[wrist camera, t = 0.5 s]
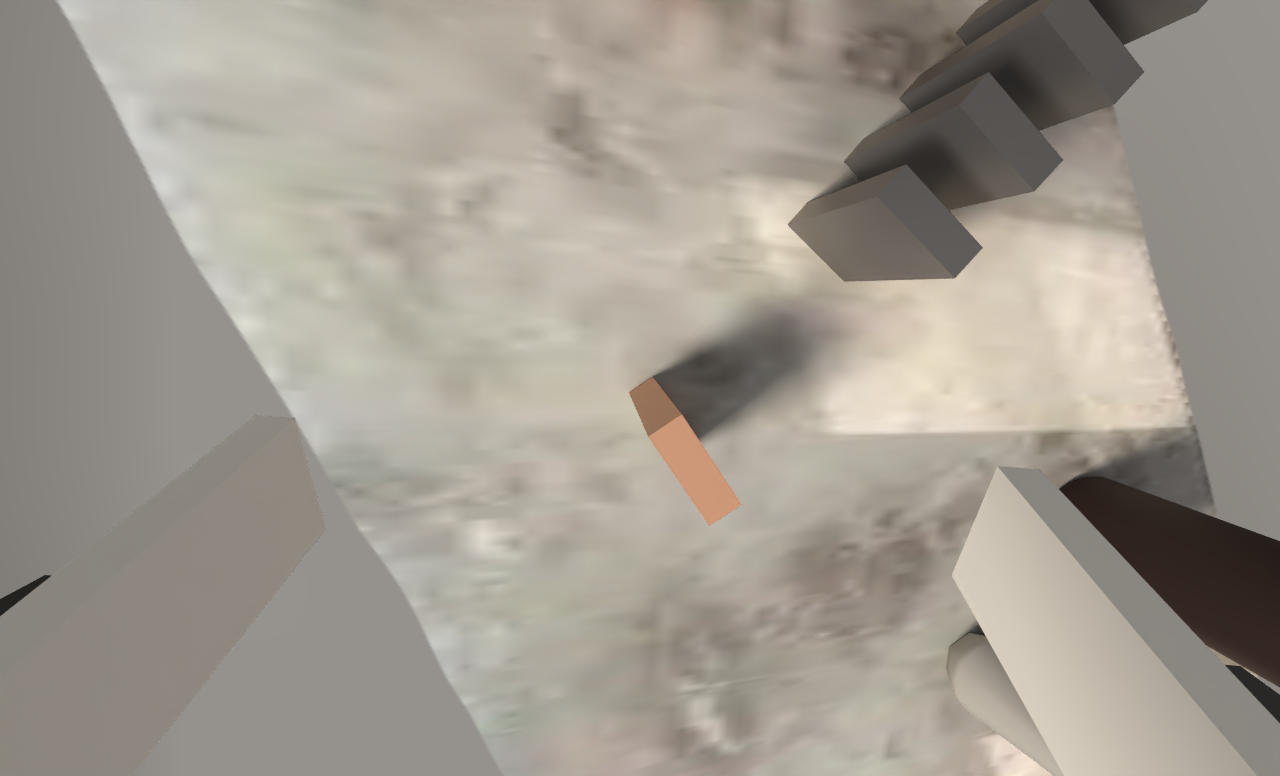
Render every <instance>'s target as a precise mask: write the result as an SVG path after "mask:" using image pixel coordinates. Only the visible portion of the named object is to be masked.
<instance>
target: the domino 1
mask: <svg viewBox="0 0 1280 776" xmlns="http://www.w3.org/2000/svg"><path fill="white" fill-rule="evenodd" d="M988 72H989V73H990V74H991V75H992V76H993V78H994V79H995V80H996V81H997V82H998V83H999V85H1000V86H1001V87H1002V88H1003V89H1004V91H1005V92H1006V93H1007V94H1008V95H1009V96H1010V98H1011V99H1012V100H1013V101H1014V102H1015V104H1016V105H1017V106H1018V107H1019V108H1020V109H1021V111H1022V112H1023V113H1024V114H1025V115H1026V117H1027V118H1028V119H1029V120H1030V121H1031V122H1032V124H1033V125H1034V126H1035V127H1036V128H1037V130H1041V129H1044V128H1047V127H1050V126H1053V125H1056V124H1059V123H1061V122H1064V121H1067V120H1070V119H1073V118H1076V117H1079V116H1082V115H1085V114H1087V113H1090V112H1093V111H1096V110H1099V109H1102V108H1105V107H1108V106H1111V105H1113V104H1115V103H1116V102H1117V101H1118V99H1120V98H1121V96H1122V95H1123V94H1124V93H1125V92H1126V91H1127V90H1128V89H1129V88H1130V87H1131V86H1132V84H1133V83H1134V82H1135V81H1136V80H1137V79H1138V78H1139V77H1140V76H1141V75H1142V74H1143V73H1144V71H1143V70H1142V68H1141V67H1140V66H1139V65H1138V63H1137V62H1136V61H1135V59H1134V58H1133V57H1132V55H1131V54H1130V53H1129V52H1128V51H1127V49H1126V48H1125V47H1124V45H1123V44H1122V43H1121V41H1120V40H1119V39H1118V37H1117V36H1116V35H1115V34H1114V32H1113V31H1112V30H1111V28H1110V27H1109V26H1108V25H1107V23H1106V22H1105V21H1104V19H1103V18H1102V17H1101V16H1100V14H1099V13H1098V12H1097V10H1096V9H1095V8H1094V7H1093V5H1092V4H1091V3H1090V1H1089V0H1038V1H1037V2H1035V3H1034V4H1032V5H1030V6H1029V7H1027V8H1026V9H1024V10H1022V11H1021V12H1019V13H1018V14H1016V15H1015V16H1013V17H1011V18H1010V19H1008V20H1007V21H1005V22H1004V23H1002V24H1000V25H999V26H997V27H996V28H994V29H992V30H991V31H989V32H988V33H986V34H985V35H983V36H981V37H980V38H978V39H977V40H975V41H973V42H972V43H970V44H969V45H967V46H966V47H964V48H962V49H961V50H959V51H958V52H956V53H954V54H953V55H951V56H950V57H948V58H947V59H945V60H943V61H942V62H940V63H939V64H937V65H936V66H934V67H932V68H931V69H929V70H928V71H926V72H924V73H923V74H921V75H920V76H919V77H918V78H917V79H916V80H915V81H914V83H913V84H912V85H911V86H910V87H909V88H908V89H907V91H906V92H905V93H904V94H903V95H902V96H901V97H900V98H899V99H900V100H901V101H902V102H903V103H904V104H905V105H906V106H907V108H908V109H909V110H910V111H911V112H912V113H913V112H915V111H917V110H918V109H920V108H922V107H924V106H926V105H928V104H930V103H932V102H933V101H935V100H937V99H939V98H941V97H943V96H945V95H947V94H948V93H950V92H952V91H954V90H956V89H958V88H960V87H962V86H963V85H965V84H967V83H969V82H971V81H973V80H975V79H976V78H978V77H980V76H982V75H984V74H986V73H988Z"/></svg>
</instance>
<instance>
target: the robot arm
mask: <svg viewBox="0 0 1280 776" xmlns="http://www.w3.org/2000/svg"><path fill="white" fill-rule="evenodd" d="M325 530H326V526H325V523H324V519H323V516H322V512H321V508H320V505H319V501H318V498H317V494H316V491H315V487H314V484H313V480H312V477H311V473H310V469H309V466H308V462H307V459H306V455H305V452H304V448H303V445H302V442H301V437H300V434H299V430H298V427H297V423H296V420H295V418H287V417H272V416H257V415H256V416H254V417H253V418H252V419H250V420H249V421H248V422H246V423H245V424H244V425H243V426H241V427H240V428H239V429H238V430H236V431H235V432H234V433H233V434H231V435H230V436H229V437H227V438H226V439H225V440H224V441H222V442H221V443H220V444H219V445H217V446H216V447H215V448H214V449H212V450H211V451H210V452H208V453H207V454H206V455H205V456H203V457H202V458H201V459H199V460H198V461H197V462H196V463H195V464H193V465H192V466H191V467H189V468H188V469H187V470H186V471H185V472H183V473H182V474H181V475H179V476H178V477H177V478H176V479H174V480H173V481H172V482H170V483H169V484H168V485H166V486H165V487H164V488H163V489H161V490H160V491H159V492H158V493H156V494H155V495H154V496H153V497H151V498H150V499H149V500H147V501H146V502H145V503H144V504H142V505H141V506H140V507H139V508H137V509H136V510H135V511H134V512H132V513H131V514H130V515H128V516H127V517H126V518H125V519H123V520H122V521H121V522H119V523H118V524H117V525H116V526H115V527H113V528H112V529H111V530H109V531H108V532H107V533H105V534H104V535H103V536H102V537H101V538H99V539H98V540H97V541H95V542H94V543H93V544H92V545H91V546H89V547H88V548H86V549H85V550H84V551H83V552H81V553H80V554H79V555H78V556H76V557H75V558H74V559H72V560H71V561H70V562H69V563H68V564H66V565H65V566H64V567H62V568H61V569H60V570H58V571H57V572H56V573H55V574H53V575H52V576H49V575H44V576H43V577H41V578H39V579H37V580H35V581H33V582H31V583H30V584H28V585H26V586H24V587H22V588H20V589H18V590H16V591H15V592H13V593H11V594H9V595H7V596H5V597H3V598H1V599H0V776H132V775H133V774H134V773H135V772H136V770H137V769H138V768H139V767H140V765H141V764H142V763H143V761H144V760H145V759H146V757H147V756H148V755H149V754H150V753H151V751H152V750H153V749H154V747H155V746H156V745H157V744H158V742H159V741H160V740H161V739H162V737H163V736H164V735H165V733H166V732H167V731H168V730H169V728H170V727H171V726H172V725H173V723H174V722H175V721H176V719H177V718H178V717H179V716H180V714H181V713H182V712H183V711H184V709H185V708H186V707H187V705H188V704H189V703H190V702H191V700H192V699H193V698H194V697H195V695H196V694H197V693H198V691H199V690H200V689H201V687H202V686H203V685H204V684H205V683H206V681H207V680H208V679H209V678H210V676H211V675H212V674H213V672H214V671H215V670H216V669H217V667H218V666H219V665H220V664H221V662H222V661H223V660H224V658H225V657H226V656H227V655H228V653H229V652H230V651H231V650H232V648H233V647H234V646H235V644H236V643H237V642H238V641H239V639H240V638H241V637H242V636H243V634H244V633H245V632H246V630H247V629H248V628H249V627H250V625H251V624H252V623H253V622H254V620H255V619H256V618H257V617H258V615H259V614H260V613H261V611H262V610H263V609H264V608H265V606H266V605H267V604H268V602H269V601H270V600H271V599H272V597H273V596H274V595H275V594H276V592H277V591H278V590H279V589H280V587H281V586H282V585H283V583H284V582H285V581H286V579H287V578H288V577H289V576H290V575H291V573H292V572H293V571H294V569H295V568H296V567H297V566H298V564H299V563H300V562H301V561H302V559H303V558H304V557H305V555H306V554H307V553H308V552H309V550H310V549H311V548H312V547H313V545H314V544H315V543H316V542H317V540H318V539H319V538H320V536H321V535H322V534H323V533H324V531H325ZM952 577H953V579H954V580H955V582H956V584H957V586H958V587H959V589H960V591H961V593H962V595H963V596H964V598H965V600H966V602H967V603H968V605H969V607H970V609H971V611H972V612H973V614H974V616H975V618H976V620H977V621H978V623H979V625H980V627H981V628H982V630H983V632H984V634H985V636H986V637H987V639H988V641H989V643H990V645H991V646H992V648H993V650H994V652H995V653H996V655H997V657H998V659H999V661H1000V662H1001V664H1002V666H1003V668H1004V670H1005V671H1006V673H1007V675H1008V677H1009V678H1010V680H1011V682H1012V684H1013V686H1014V687H1015V689H1016V691H1017V693H1018V694H1019V696H1020V698H1021V700H1022V702H1023V703H1024V705H1025V707H1026V709H1027V711H1028V712H1029V714H1030V716H1031V718H1032V719H1033V721H1034V723H1035V725H1036V727H1037V728H1038V730H1039V732H1040V734H1041V736H1042V737H1043V739H1044V741H1045V743H1046V744H1047V746H1048V748H1049V750H1050V752H1051V753H1052V755H1053V757H1054V759H1055V761H1056V762H1057V764H1058V766H1059V768H1060V769H1061V771H1062V773H1063V775H1064V776H1280V695H1279V694H1278V693H1276V692H1275V691H1274V690H1272V689H1271V688H1270V687H1268V686H1267V685H1265V684H1264V683H1263V682H1261V681H1260V680H1259V679H1257V678H1256V677H1254V676H1253V675H1252V674H1250V673H1249V672H1248V671H1246V670H1245V669H1243V668H1242V667H1241V666H1232V665H1224V664H1223V663H1222V662H1221V661H1220V660H1219V658H1218V657H1217V656H1216V655H1215V654H1214V653H1213V652H1212V651H1211V650H1210V649H1209V648H1208V647H1207V646H1206V645H1205V644H1204V643H1203V642H1202V640H1201V639H1200V638H1199V637H1198V636H1197V635H1196V634H1195V633H1194V632H1193V631H1192V630H1191V629H1190V628H1189V627H1188V626H1187V625H1186V624H1185V622H1184V621H1183V620H1182V619H1181V618H1180V617H1179V616H1178V615H1177V614H1176V613H1175V612H1174V611H1173V610H1172V609H1171V608H1170V607H1169V606H1168V604H1167V603H1166V602H1165V601H1164V600H1163V599H1162V598H1161V597H1160V596H1159V595H1158V594H1157V593H1156V592H1155V591H1154V590H1153V589H1152V587H1151V586H1150V585H1149V584H1148V583H1147V582H1146V581H1145V580H1144V579H1143V578H1142V577H1141V576H1140V575H1139V574H1138V573H1137V572H1136V571H1135V569H1134V568H1133V567H1132V566H1131V565H1130V564H1129V563H1128V562H1127V561H1126V560H1125V559H1124V558H1123V557H1122V556H1121V555H1120V554H1119V553H1118V551H1117V550H1116V549H1115V548H1114V547H1113V546H1112V545H1111V544H1110V543H1109V542H1108V541H1107V540H1106V539H1105V538H1104V537H1103V536H1102V535H1101V533H1100V532H1099V531H1098V530H1097V529H1096V528H1095V527H1094V526H1093V525H1092V524H1091V523H1090V522H1089V521H1088V520H1087V519H1086V518H1085V516H1084V515H1083V514H1082V513H1081V512H1080V511H1079V510H1078V509H1077V508H1076V507H1075V506H1074V505H1073V504H1072V503H1071V502H1070V501H1069V500H1068V498H1067V497H1066V496H1065V495H1064V494H1063V493H1062V492H1061V491H1060V490H1059V489H1058V488H1057V487H1056V486H1055V485H1054V484H1053V483H1052V482H1051V480H1050V479H1049V478H1048V477H1047V476H1046V475H1045V474H1044V473H1043V472H1042V471H1041V470H1040V469H1027V468H1013V467H998V466H997V469H996V471H995V474H994V476H993V478H992V481H991V483H990V486H989V488H988V490H987V493H986V495H985V498H984V500H983V502H982V505H981V507H980V509H979V512H978V514H977V517H976V519H975V521H974V524H973V526H972V529H971V531H970V533H969V536H968V538H967V541H966V543H965V545H964V548H963V550H962V553H961V555H960V557H959V560H958V562H957V564H956V567H955V569H954V572H953V574H952Z"/></svg>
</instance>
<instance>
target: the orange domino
mask: <svg viewBox="0 0 1280 776" xmlns="http://www.w3.org/2000/svg"><path fill="white" fill-rule="evenodd" d="M629 394H630V396H631V398H632V400H633V403H634V405H635V407H636V410H637V412H638V414H639V416H640V419H641V421H642V423H643V426H644V428H645V430H646V432H647V435H648V437H649V438H650V440H651V441H652V443H653V444H654V446H655V447H656V449H657V450H658V452H659V453H660V454H661V456H662V457H663V459H664V460H665V462H666V463H667V465H668V466H669V468H670V469H671V471H672V472H673V473H674V475H675V476H676V478H677V479H678V481H679V482H680V484H681V485H682V487H683V488H684V490H685V491H686V493H687V494H688V495H689V497H690V498H691V500H692V501H693V503H694V504H695V506H696V507H697V509H698V510H699V512H700V513H701V514H702V516H703V517H704V519H705V520H706V522H707V523H708V525H709V526H710V525H711V524H713V523H714V522H716V521H717V520H719V519H720V518H722V517H723V516H725V515H726V514H728V513H729V512H731V511H732V510H734V509H735V508H737V507H739V506H740V505H742V504H741V503H740V501H739V500H738V498H737V497H736V495H735V494H734V492H733V491H732V489H731V488H730V486H729V485H728V483H727V482H726V480H725V479H724V477H723V476H722V474H721V473H720V471H719V470H718V468H717V467H716V465H715V464H714V462H713V460H712V459H711V457H710V456H709V454H708V453H707V451H706V450H705V448H704V447H703V445H702V444H701V442H700V441H699V439H698V438H697V436H696V435H695V433H694V432H693V430H692V429H691V427H690V426H689V424H688V423H687V421H686V420H685V418H684V417H683V415H682V414H681V413H680V411H679V410H678V409H677V407H676V406H675V405H674V404H673V402H672V401H671V400H670V398H669V397H668V396H667V395H666V393H665V392H664V391H663V389H662V388H661V387H660V386H659V384H658V383H657V382H656V380H655V379H654V378H653V377H651V378H650V379H648V380H647V381H645V382H644V383H642V384H641V385H639V386H638V387H636V388H635V389H633V390H632V391H630V392H629Z"/></svg>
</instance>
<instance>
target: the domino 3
mask: <svg viewBox="0 0 1280 776" xmlns="http://www.w3.org/2000/svg"><path fill="white" fill-rule="evenodd" d="M788 226H789V227H790V228H791V229H792V230H793V231H794V232H795V233H796V234H797V235H798V236H799V237H800V238H801V239H802V240H803V241H804V242H805V243H806V244H807V245H808V246H809V247H810V248H811V249H812V250H813V251H814V252H815V253H816V254H817V255H818V256H819V257H820V258H821V259H822V260H823V261H824V262H825V263H826V264H827V265H828V266H829V267H830V268H831V269H832V270H833V271H834V272H835V273H836V274H837V275H838V276H839V277H840V278H841V279H842V280H843V281H878V280H913V279H947V278H955V277H956V276H957V275H958V274H959V273H960V272H961V271H962V270H963V269H964V268H965V267H966V265H967V264H968V263H969V262H970V261H971V260H972V259H973V258H974V257H975V256H976V255H977V253H978V252H979V251H980V250H981V249H982V248H983V247H982V246H981V245H980V244H979V243H978V242H977V241H976V240H975V239H974V237H973V236H972V235H971V234H970V233H969V232H968V231H967V230H966V229H965V228H964V227H963V226H962V224H961V223H960V222H959V221H958V220H957V219H956V218H955V217H954V216H953V215H952V214H951V212H950V211H949V210H948V209H947V208H946V207H945V206H944V205H943V204H942V203H941V202H940V200H939V199H938V198H937V197H936V196H935V195H934V194H933V193H932V192H931V191H930V190H929V189H928V187H927V186H926V185H925V184H924V183H923V182H922V181H921V180H920V179H919V178H918V177H917V175H916V174H915V173H914V172H913V171H912V170H911V169H910V168H909V167H908V166H907V165H903V166H901V167H898V168H896V169H893V170H890V171H888V172H885V173H883V174H880V175H877V176H875V177H872V178H870V179H867V180H864V181H862V182H859V183H857V184H854V185H851V186H849V187H846V188H844V189H841V190H839V191H836V192H833V193H831V194H828V195H826V196H823V197H820V198H818V199H815V200H813V201H810V202H807V203H806V205H805V206H804V207H803V208H802V209H801V210H800V211H799V213H798V214H797V215H796V216H795V217H794V218H793V219H792V220H791V222H790V223H789V224H788Z"/></svg>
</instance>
